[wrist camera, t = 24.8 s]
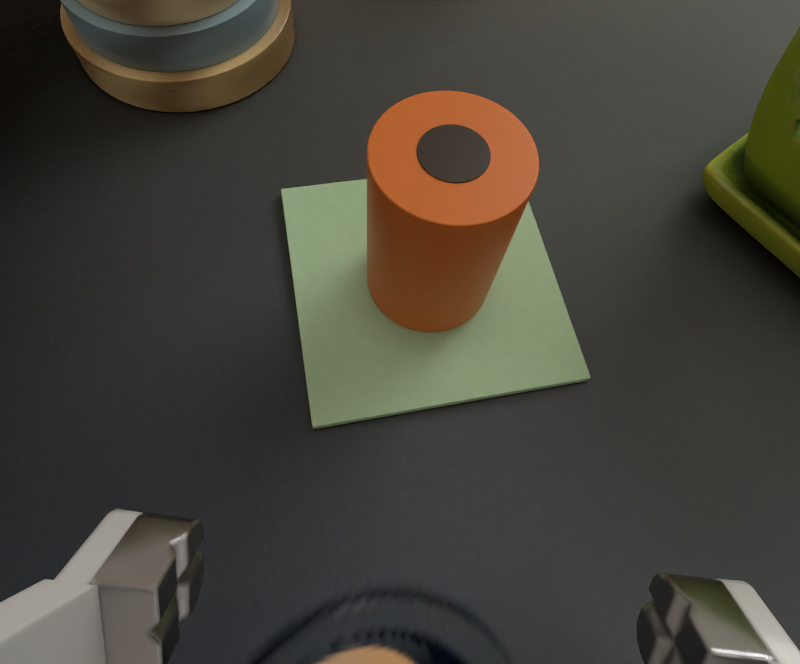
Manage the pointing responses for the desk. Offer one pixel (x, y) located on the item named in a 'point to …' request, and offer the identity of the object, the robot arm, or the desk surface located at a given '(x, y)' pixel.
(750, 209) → the flower pot
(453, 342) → the green mat
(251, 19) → the stacking tower
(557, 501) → the desk surface
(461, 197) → the orange cylinder piece
